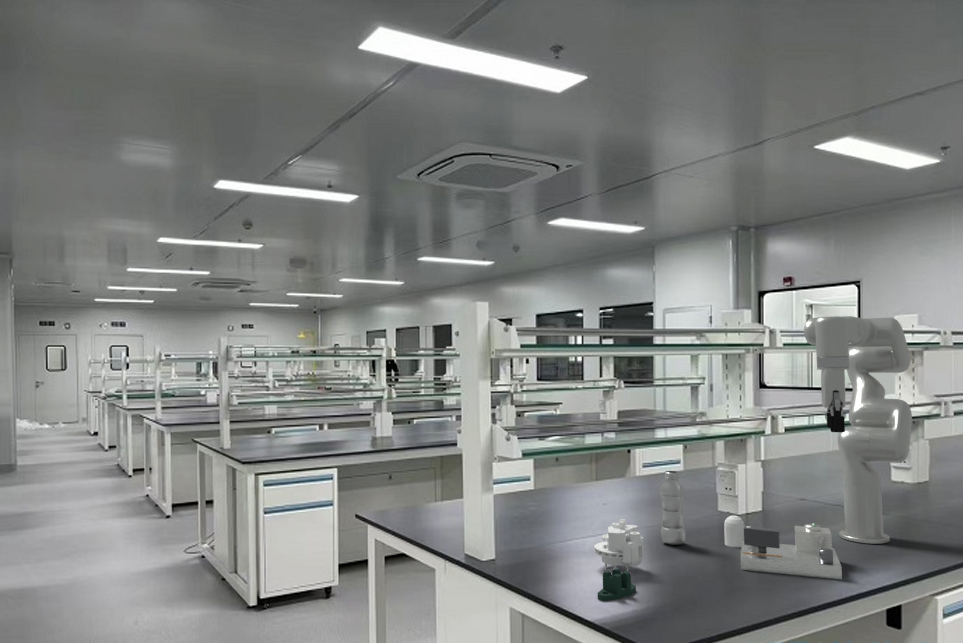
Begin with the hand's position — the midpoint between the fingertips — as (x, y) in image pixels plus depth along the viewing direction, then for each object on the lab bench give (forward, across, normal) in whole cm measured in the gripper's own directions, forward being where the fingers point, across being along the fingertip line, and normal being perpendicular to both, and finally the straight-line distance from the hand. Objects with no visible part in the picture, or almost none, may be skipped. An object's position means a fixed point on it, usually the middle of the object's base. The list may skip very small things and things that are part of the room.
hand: (835, 429), depth 175 cm
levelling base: (+33, +10, -13) cm, 37 cm away
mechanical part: (+32, +29, -52) cm, 67 cm away
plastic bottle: (+33, +1, -42) cm, 53 cm away
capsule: (+33, -4, -26) cm, 42 cm away
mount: (+32, +47, -48) cm, 75 cm away
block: (+30, +15, -19) cm, 38 cm away
